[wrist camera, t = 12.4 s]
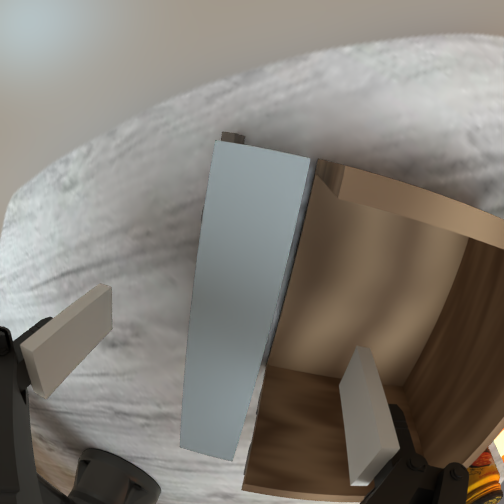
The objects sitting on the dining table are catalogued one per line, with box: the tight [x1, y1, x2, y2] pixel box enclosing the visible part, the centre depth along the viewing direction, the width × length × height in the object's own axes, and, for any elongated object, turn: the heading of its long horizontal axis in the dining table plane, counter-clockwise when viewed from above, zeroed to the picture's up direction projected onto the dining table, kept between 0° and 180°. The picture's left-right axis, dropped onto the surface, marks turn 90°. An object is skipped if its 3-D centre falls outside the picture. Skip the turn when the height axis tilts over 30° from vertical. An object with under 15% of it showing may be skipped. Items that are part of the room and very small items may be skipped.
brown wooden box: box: [221, 132, 504, 502], centre depth 17 cm, size 20×20×13 cm
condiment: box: [466, 447, 503, 504], centre depth 22 cm, size 7×8×12 cm
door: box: [180, 140, 310, 461], centre depth 19 cm, size 5×18×11 cm, turn 169°
